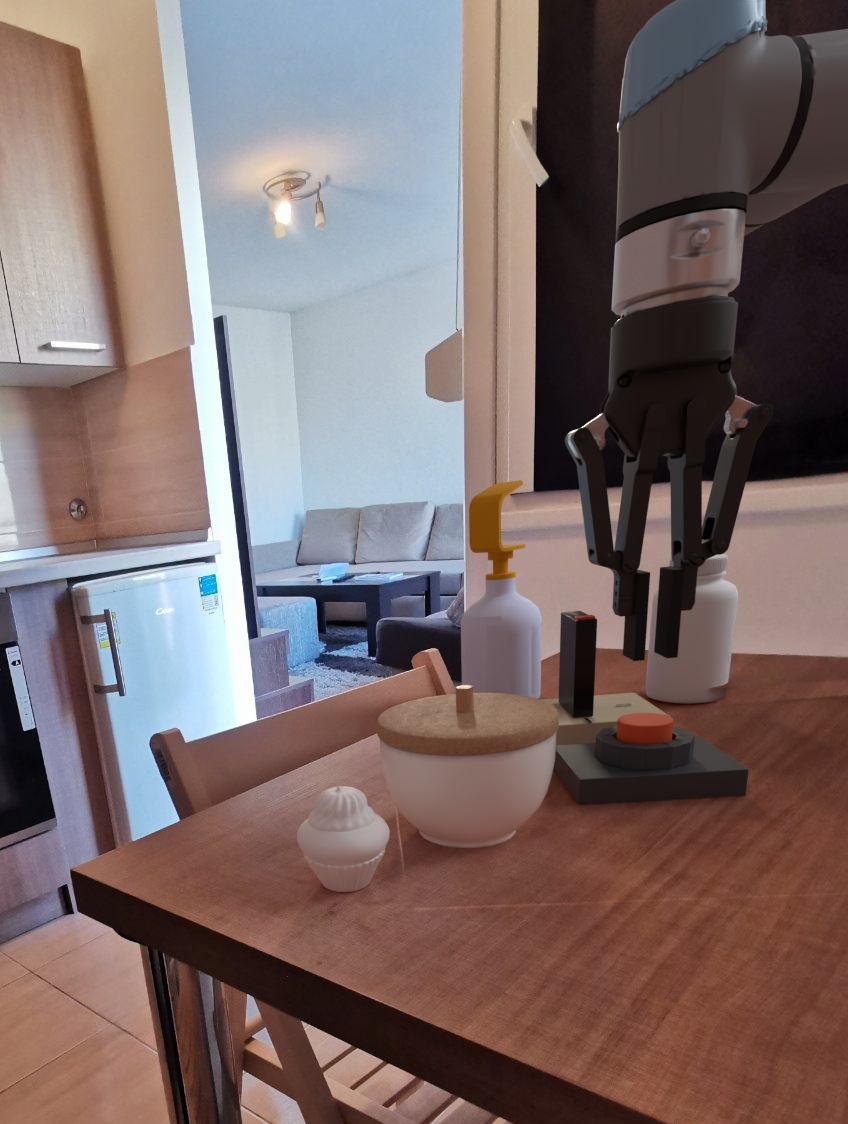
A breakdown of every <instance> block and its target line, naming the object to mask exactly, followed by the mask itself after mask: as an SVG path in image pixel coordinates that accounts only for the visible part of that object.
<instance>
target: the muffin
mask: <svg viewBox="0 0 848 1124" xmlns="http://www.w3.org/2000/svg"><path fill="white" fill-rule="evenodd" d="M390 834H391V831H390V827H389V825H388V823H387V822H386V820H385V819H384V818H383V817H382V816H381V815H379V814H378V813H376V812H375V811H374V809H373V808H372V807H370V805H369V804H368V799H367V796H366V795H365V794H364V792H363V791H361V790H359V789H358V788H355V787H353V786H347V785H344V786H343V785H338V786H332V787H329V788H325V789H324V790H322V791H320V792H319V793H318V794H317V796H315V798H314V800H313V809H312V810H311V811H310V812H309V814H308V817H307V818H306V819H305V820H304V821H303V822H302V823H301V825H300V826H299V828H298V830H297V833H296V843H297V845H298V847H299V849H300V850H301V852H302V854H303V855H302V857H303V858H304V861H306V863H307V864H308V866H309V867H310V869H311V870H312V871H313V873H314V875H315V876H316V877H317V879H318V880H319V882H320V883H321V884H322V886H323V887H324V888H326V890H329V891H333V892H337V893H352V892H356V891H360V890H361V889H362V890H363V889H364V888H366V887H367V886H368V885H369V884H370V882H371V881H372V879H373V877H374V875H375V873H376V871H377V869H378V867H379V865H380V863H381V861H382V859H383V857H384V855H385V853H386V847H387V844H388V842H389V839H390Z"/></svg>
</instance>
